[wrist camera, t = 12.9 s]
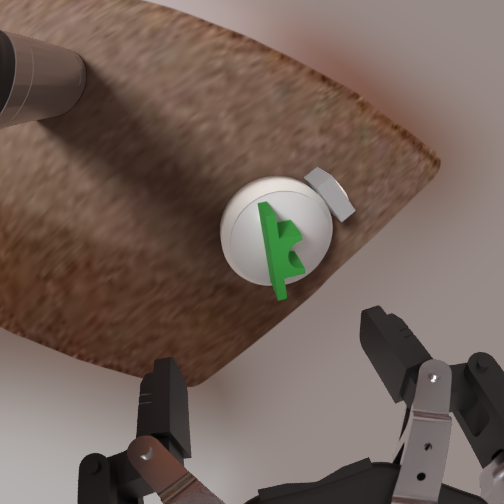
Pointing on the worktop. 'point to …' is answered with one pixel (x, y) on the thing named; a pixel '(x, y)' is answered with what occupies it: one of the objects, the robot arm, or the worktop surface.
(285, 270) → the pipe clamp
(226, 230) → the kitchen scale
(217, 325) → the worktop surface
